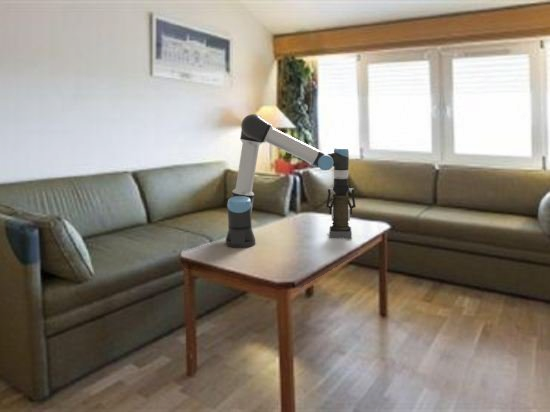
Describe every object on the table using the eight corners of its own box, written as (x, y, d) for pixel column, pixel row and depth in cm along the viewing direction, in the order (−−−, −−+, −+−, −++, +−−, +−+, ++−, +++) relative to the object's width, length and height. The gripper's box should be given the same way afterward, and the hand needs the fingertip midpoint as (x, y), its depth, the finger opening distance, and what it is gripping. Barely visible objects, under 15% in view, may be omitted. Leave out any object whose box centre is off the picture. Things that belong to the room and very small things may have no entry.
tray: (329, 237, 242) (329, 231, 241) (329, 232, 253) (329, 226, 253) (351, 238, 240) (351, 231, 240) (350, 232, 252) (351, 226, 251)
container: (348, 230, 241) (349, 196, 237) (331, 229, 243) (331, 196, 239) (349, 226, 250) (349, 193, 246) (332, 225, 251) (333, 193, 248)
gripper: (320, 178, 239) (320, 221, 243) (361, 178, 236) (360, 222, 240) (321, 176, 246) (321, 218, 250) (361, 176, 243) (360, 219, 248)
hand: (340, 220), depth 245 cm, fingers closed on container, 8 cm apart
